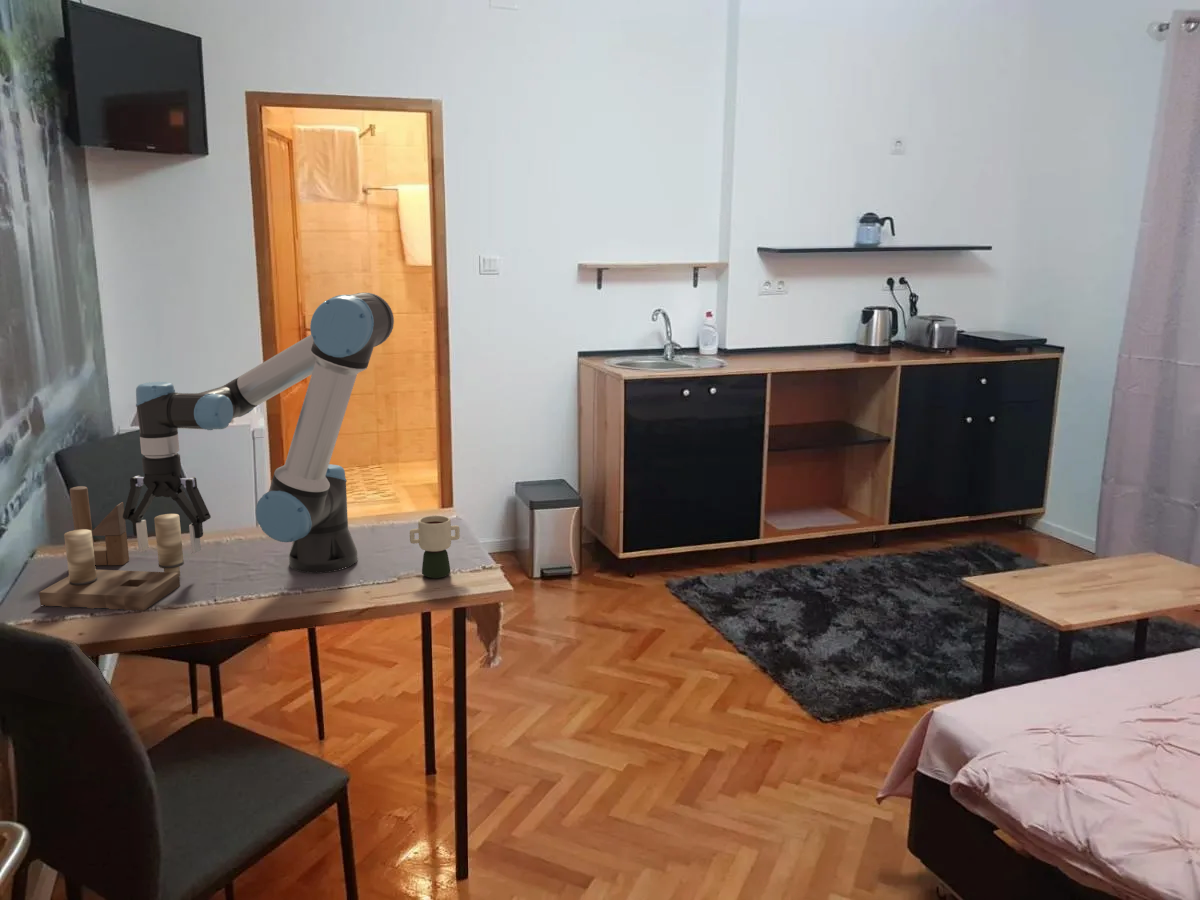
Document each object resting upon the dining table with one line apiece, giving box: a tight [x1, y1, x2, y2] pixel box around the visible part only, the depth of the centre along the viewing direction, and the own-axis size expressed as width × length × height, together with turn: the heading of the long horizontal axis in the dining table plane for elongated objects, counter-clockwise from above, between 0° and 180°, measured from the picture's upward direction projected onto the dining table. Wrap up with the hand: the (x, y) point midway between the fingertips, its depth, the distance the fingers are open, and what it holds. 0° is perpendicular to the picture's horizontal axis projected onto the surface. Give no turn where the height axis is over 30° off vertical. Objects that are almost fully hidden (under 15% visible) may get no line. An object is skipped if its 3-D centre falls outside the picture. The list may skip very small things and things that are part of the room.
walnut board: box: [38, 529, 181, 612], centre depth 199 cm, size 22×14×14 cm, turn 85°
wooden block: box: [69, 485, 130, 566], centre depth 218 cm, size 4×11×18 cm, turn 95°
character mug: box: [409, 514, 461, 579], centre depth 212 cm, size 11×7×13 cm, turn 108°
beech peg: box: [153, 513, 185, 577], centre depth 211 cm, size 5×5×14 cm
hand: (169, 550), depth 212 cm, fingers open, 11 cm apart
